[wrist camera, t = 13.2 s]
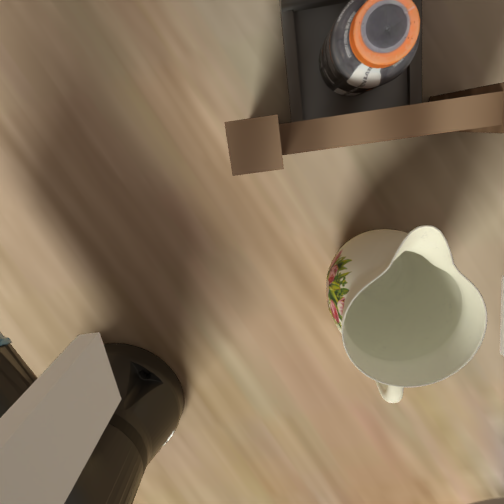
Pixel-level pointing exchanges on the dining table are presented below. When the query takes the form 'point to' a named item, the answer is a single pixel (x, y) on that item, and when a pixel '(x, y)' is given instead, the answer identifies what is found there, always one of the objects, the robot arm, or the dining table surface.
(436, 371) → the pitcher
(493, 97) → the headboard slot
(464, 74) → the dining table surface
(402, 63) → the pill bottle
